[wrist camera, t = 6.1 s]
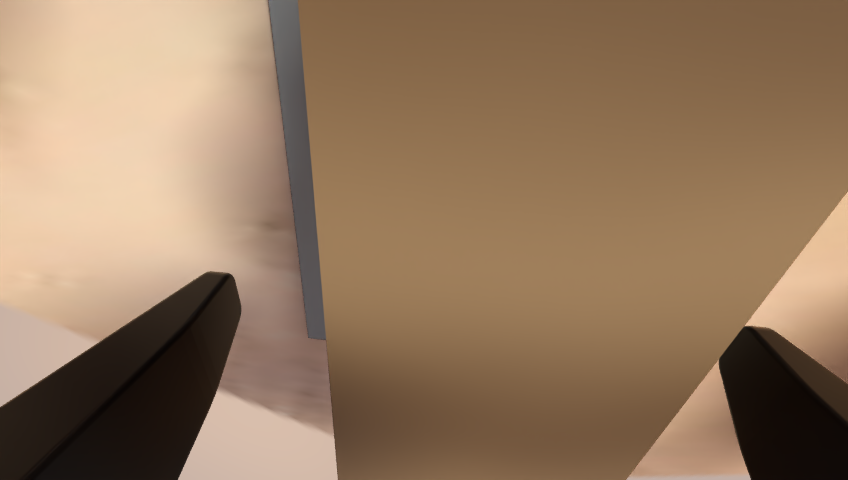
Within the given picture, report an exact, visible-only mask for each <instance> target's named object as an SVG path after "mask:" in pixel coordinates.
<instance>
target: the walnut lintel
mask: <svg viewBox="0 0 848 480" xmlns="http://www.w3.org/2000/svg"><path fill="white" fill-rule="evenodd" d="M298 9H299V21H300V33H301V45H302V57H303V69H304V81H305V93H306V105H307V117H308V129H309V141H310V152H311V164H312V176H313V188H314V200H315V212H316V224H317V236H318V248H319V260H320V272H321V284H322V296H323V307H324V319H325V331H326V343H327V355H328V367H329V379H330V391H331V403H332V415H333V427H334V439H335V449H336V462H337V474H338V480H626V479H627V478H628V476H629V475H630V474H631V472H632V471H633V470H634V469H635V467H636V466H637V465H638V463H639V462H640V461H641V459H642V458H643V457H644V456H645V454H646V453H647V452H648V450H649V449H650V448H651V446H652V445H653V444H654V443H655V441H656V440H657V439H658V437H659V436H660V435H661V433H662V432H663V431H664V430H665V428H666V427H667V426H668V424H669V423H670V422H671V420H672V419H673V418H674V417H675V415H676V414H677V413H678V411H679V410H680V409H681V407H682V406H683V405H684V404H685V402H686V401H687V400H688V398H689V397H690V396H691V394H692V393H693V392H694V391H695V389H696V388H697V387H698V385H699V384H700V383H701V381H702V380H703V379H704V378H705V376H706V375H707V374H708V372H709V371H710V370H711V368H712V367H713V366H714V365H715V363H716V362H717V361H718V359H719V358H720V357H721V355H722V354H723V353H724V352H725V350H726V349H727V348H728V346H729V345H730V344H731V342H732V341H733V340H734V339H735V337H736V336H737V335H738V333H739V332H740V331H741V329H742V328H743V327H744V326H745V324H746V323H747V322H748V320H749V319H750V318H751V316H752V315H753V314H754V313H755V311H756V310H757V309H758V307H759V306H760V305H761V303H762V302H763V301H764V300H765V298H766V297H767V296H768V294H769V293H770V292H771V290H772V289H773V288H774V287H775V285H776V284H777V283H778V281H779V280H780V279H781V277H782V276H783V275H784V274H785V272H786V271H787V270H788V268H789V267H790V266H791V264H792V263H793V262H794V261H795V259H796V258H797V257H798V255H799V254H800V253H801V251H802V250H803V249H804V248H805V246H806V245H807V244H808V242H809V241H810V240H811V238H812V237H813V236H814V235H815V233H816V232H817V231H818V229H819V228H820V227H821V225H822V224H823V223H824V222H825V220H826V219H827V218H828V216H829V215H830V214H831V212H832V211H833V210H834V209H835V207H836V206H837V205H838V203H839V202H840V201H841V199H842V198H843V197H844V196H845V194H846V193H847V192H848V0H298Z"/></svg>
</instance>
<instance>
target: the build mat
mask: <svg viewBox="0 0 848 480" xmlns="http://www.w3.org/2000/svg"><path fill="white" fill-rule="evenodd" d="M268 1H269V9H270V18H271V26H272V34H273V43H274V51H275V60H276V68H277V77H278V85H279V94H280V102H281V110H282V119H283V127H284V136H285V144H286V153H287V161H288V170H289V178H290V186H291V195H292V203H293V212H294V220H295V229H296V237H297V246H298V254H299V262H300V271H301V279H302V288H303V296H304V305H305V313H306V322H307V330H308V338H313V339H323V340H326V331H325V319H324V307H323V296H322V284H321V272H320V260H319V248H318V236H317V224H316V212H315V200H314V188H313V176H312V164H311V152H310V141H309V129H308V117H307V105H306V93H305V81H304V69H303V57H302V45H301V33H300V21H299V9H298V0H268Z"/></svg>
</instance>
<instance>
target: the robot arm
mask: <svg viewBox="0 0 848 480" xmlns="http://www.w3.org/2000/svg"><path fill="white" fill-rule="evenodd" d="M240 316H241V303H240V299H239V295H238V291H237V287H236V282H235V279H234V277H233V276H232V275H231V274H229V273H223V272H213V271H210V272H206V273H204V274H203V275H201V276H199V277H198V278H196V279H195V280H193V281H192V282H190V283H189V284H187V285H186V286H184V287H183V288H181V289H180V290H178V291H177V292H175V293H174V294H172V295H170V296H169V297H167V298H166V299H164V300H163V301H161V302H160V303H158V304H157V305H155V306H154V307H152V308H151V309H149V310H148V311H146V312H145V313H143V314H141V315H140V316H138V317H137V318H135V319H134V320H132V321H131V322H129V323H128V324H126V325H125V326H123V327H122V328H120V329H119V330H117V331H116V332H114V333H112V334H111V335H109V336H108V337H106V338H105V339H103V340H102V341H100V342H99V343H97V344H96V345H94V346H93V347H91V348H90V349H88V350H87V351H85V352H84V353H82V354H81V355H79V356H77V357H76V358H74V359H73V360H71V361H70V362H68V363H67V364H65V365H64V366H62V367H61V368H59V369H58V370H56V371H55V372H53V373H52V374H50V375H48V376H47V377H45V378H44V379H42V380H41V381H39V382H38V383H36V384H35V385H33V386H32V387H30V388H29V389H27V390H26V391H24V392H22V393H21V394H19V395H18V396H16V397H15V398H13V399H12V400H10V401H9V402H7V403H6V404H4V405H3V406H1V407H0V480H178V478H179V476H180V474H181V471H182V469H183V467H184V465H185V462H186V460H187V458H188V455H189V454H190V451H191V449H192V447H193V445H194V442H195V440H196V438H197V436H198V433H199V431H200V429H201V427H202V424H203V422H204V420H205V418H206V416H207V413H208V411H209V409H210V407H211V404H212V402H213V399H214V397H215V394H216V391H217V389H218V386H219V383H220V380H221V376H222V373H223V370H224V367H225V364H226V361H227V358H228V355H229V351H230V348H231V345H232V342H233V339H234V336H235V333H236V329H237V326H238V323H239V320H240ZM719 369H720V373H721V377H722V381H723V385H724V389H725V393H726V397H727V401H728V404H729V408H730V412H731V416H732V420H733V424H734V428H735V432H736V436H737V439H738V443H739V446H740V450H741V453H742V456H743V459H744V461H745V464H746V467H747V470H748V472H749V475H750V478H751V480H848V384H847V383H845V382H844V381H843V380H841V379H840V378H839V377H837V376H836V375H834V374H833V373H832V372H830V371H829V370H828V369H826V368H825V367H823V366H822V365H821V364H819V363H818V362H817V361H815V360H814V359H812V358H811V357H810V356H808V355H807V354H806V353H804V352H803V351H801V350H800V349H799V348H797V347H796V346H795V345H793V344H792V343H790V342H789V341H788V340H786V339H785V338H784V337H782V336H781V335H779V334H778V333H777V332H775V331H774V330H772V329H770V328H766V327H756V326H744V327H743V328H742V329H741V331H740V332H739V333H738V335H737V336H736V337H735V339H734V340H733V341H732V342H731V344H730V345H729V346H728V348H727V349H726V350H725V352H724V353H723V354H722V355H721V357H720V358H719Z"/></svg>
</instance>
